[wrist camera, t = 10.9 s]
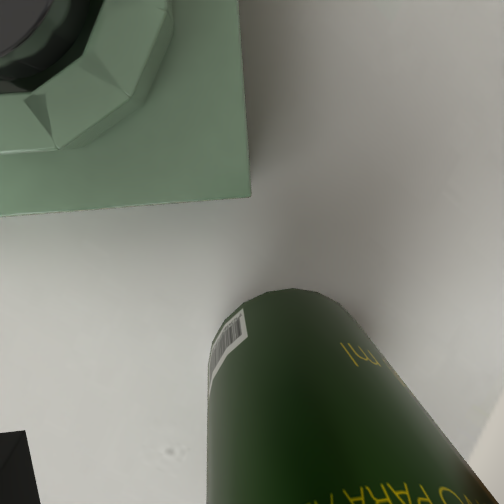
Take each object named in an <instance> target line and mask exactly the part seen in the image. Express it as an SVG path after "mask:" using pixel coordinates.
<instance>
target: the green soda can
mask: <svg viewBox="0 0 504 504" xmlns="http://www.w3.org/2000/svg"><path fill="white" fill-rule="evenodd" d="M206 504H499V503H498V502H497V501H496V500H495V498H494V497H493V496H492V494H491V493H490V492H489V491H488V490H487V488H486V487H485V486H484V484H483V483H482V482H481V480H480V479H479V478H478V477H477V475H476V474H475V473H474V471H473V470H472V469H471V468H470V466H469V465H468V464H467V462H466V461H465V460H464V459H463V457H462V456H461V455H460V454H459V452H458V451H457V450H456V448H455V447H454V446H453V445H452V443H451V442H450V441H449V439H448V438H447V437H446V436H445V434H444V433H443V432H442V431H441V429H440V428H439V427H438V425H437V424H436V423H435V422H434V420H433V419H432V418H431V416H430V415H429V414H428V413H427V411H426V410H425V409H424V408H423V406H422V405H421V404H420V402H419V401H418V400H417V399H416V397H415V396H414V395H413V393H412V392H411V391H410V390H409V388H408V387H407V386H406V384H405V383H404V382H403V381H402V379H401V378H400V377H399V376H398V374H397V373H396V372H395V370H394V369H393V368H392V367H391V365H390V364H389V363H388V361H387V360H386V359H385V358H384V356H383V355H382V354H381V353H380V351H379V350H378V349H377V347H376V346H375V345H374V344H373V342H372V341H371V340H370V338H369V337H368V336H367V335H366V333H365V332H364V331H363V330H362V328H361V327H360V326H359V324H358V323H357V322H356V321H355V320H354V318H353V317H352V316H351V315H350V314H349V313H348V312H347V311H346V310H345V309H344V308H343V307H342V306H341V305H340V304H339V303H337V302H335V301H334V300H332V299H330V298H328V297H326V296H324V295H322V294H320V293H318V292H313V291H307V290H300V289H294V288H291V289H284V290H277V291H270V292H266V293H264V294H262V295H259V296H257V297H255V298H253V299H251V300H249V301H247V302H245V303H243V304H242V305H241V306H240V307H239V308H237V309H236V310H235V311H234V312H233V313H232V314H231V315H230V316H229V317H228V318H227V319H225V320H224V322H223V324H222V326H221V327H220V329H219V331H218V333H217V334H216V336H215V338H214V340H213V342H212V346H211V352H210V357H209V362H208V409H207V501H206Z"/></svg>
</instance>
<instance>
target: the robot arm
mask: <svg viewBox="0 0 504 504" xmlns="http://www.w3.org/2000/svg"><path fill="white" fill-rule="evenodd" d="M0 504H40V499H39V494H38V489H37V485H36V480H35V475H34V470H33V465H32V461H31V456H30V451H29V446H28V442H27V437H26V432H25V430H24V431H15V432H6V433H0Z"/></svg>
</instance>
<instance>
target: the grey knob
mask: <svg viewBox="0 0 504 504" xmlns="http://www.w3.org/2000/svg"><path fill="white" fill-rule="evenodd" d="M90 1H91V0H0V81H11V80H19V79H22V78H26V77H30V76H33V75H35V74H37V73H39V72H42V71H44V70H45V69H47V68H49V67H50V66H52V65H53V64H55V63H56V62H57V61H58V60H59V59H61V58H62V57H63V56H64V55H65V54H66V53H67V51H68V50H69V49H70V48H71V47H72V46H73V44H74V42H75V41H76V39H77V38H78V36H79V35H80V32H81V30H82V28H83V26H84V24H85V21H86V18H87V15H88V11H89V6H90Z"/></svg>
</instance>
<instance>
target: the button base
mask: <svg viewBox="0 0 504 504" xmlns="http://www.w3.org/2000/svg"><path fill="white" fill-rule="evenodd" d="M251 195H252V192H251V177H250V163H249V148H248V134H247V119H246V105H245V90H244V75H243V61H242V46H241V32H240V17H239V3H238V0H91V1H90V6H89V11H88V15H87V18H86V21H85V24H84V26H83V28H82V30H81V32H80V35H79V36H78V38H77V39H76V41H75V42H74V44H73V46H72V47H71V48H70V49H69V50H68V51H67V53H66V54H65V55H64V56H63V57H62V58H61V59H59V60H58V61H57V62H56V63H55V64H53V65H52V66H50V67H49V68H47V69H45V70H44V71H42V72H39V73H37V74H35V75H33V76H30V77H26V78H22V79H19V80H11V81H0V217H10V216H23V215H35V214H48V213H60V212H73V211H85V210H98V209H111V208H123V207H136V206H148V205H161V204H173V203H186V202H198V201H211V200H224V199H236V198H249V197H251Z"/></svg>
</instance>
